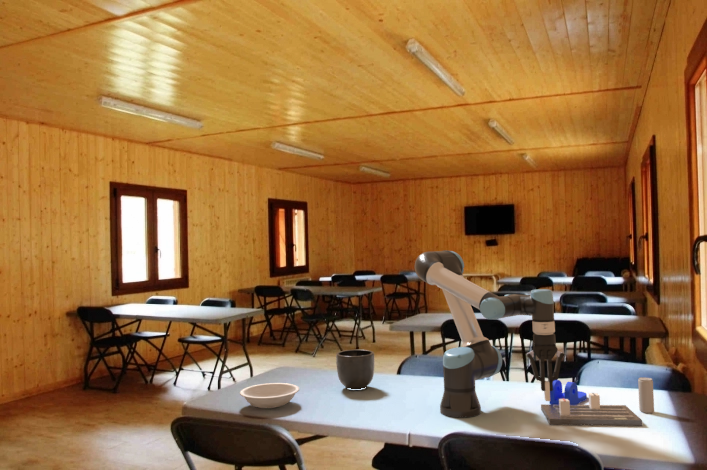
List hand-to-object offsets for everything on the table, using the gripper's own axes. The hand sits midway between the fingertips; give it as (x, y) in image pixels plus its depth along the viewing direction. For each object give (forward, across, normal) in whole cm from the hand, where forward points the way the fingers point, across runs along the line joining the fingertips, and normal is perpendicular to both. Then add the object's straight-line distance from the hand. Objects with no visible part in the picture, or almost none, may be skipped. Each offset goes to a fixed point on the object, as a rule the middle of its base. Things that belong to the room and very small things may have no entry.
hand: (547, 400), depth 203 cm
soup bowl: (+6, -106, +14) cm, 108 cm away
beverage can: (+8, +37, +12) cm, 39 cm away
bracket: (+8, +13, +26) cm, 30 cm away
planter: (+6, -75, +43) cm, 87 cm away
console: (+7, +15, +4) cm, 17 cm away
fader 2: (+5, +18, +8) cm, 20 cm away
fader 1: (+5, +6, 0) cm, 8 cm away
